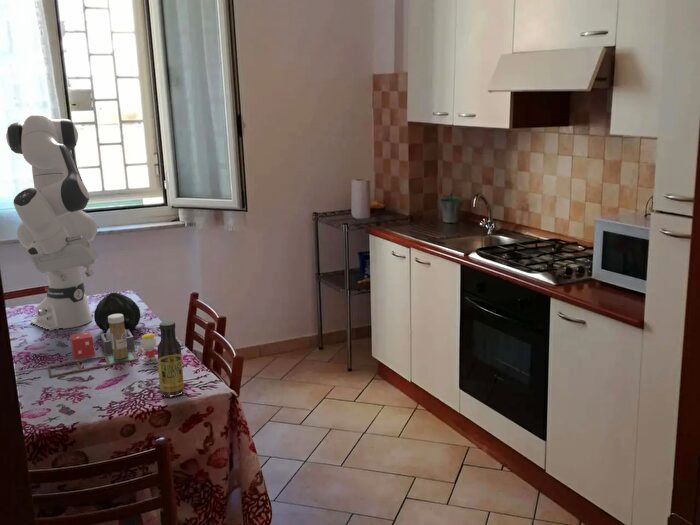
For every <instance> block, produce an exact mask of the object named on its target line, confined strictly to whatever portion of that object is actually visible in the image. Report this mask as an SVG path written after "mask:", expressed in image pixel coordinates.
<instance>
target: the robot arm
mask: <svg viewBox="0 0 700 525" xmlns="http://www.w3.org/2000/svg"><path fill="white" fill-rule="evenodd" d="M5 134H6V135H5V136H6V137H5V138H6V142H7V144H8V145H7V146H8V147H9V148H10V150H11V152H13V153H14V154H18V155H22V156H23V158H24V160H25V161H26V163H28V164H29V165H30V166H31V171H32V180H33V186H34V187H29V188H26V189H23V190H22V191H20V192H19V193H17V194H16V195H15V197H14V199H13V206H14V208H15V211H16V213H17V215H18V217H19V218H20V220H21V222H20V224H19V225H18V228H17V230H16V233H17V234H16V236H17V239H18V242H19V243H20V244H21V246H23V248H26V250H25V253H26V254H27V255H28V256H30V257H29V258H30V261H31V263H32V264H33V266H34V268H35V269H36V270H37V271H38V272H39V273H41V274H44V273H46V277H47V282H48V286H46V287H44V289H45V290H44V291H45V292H46V297H45V298H44V299H43V300H42V301H41V302H39V304H38V305H37V306H36V310H35V311H36V317H34V318H32V319H31V320H30V321H29V322H31V323H34V324H36V325H39V326H42V327H44V328H47V329H49V330H48V331H55V330H54V329H56V330H60V329H59V328H63V329H71V328H77V327H81V326H84V325H86V324H88V323H90V322H92V320H93V316H94V313H93V312H92V311H91V308H90V304H89V300H88V296H87V295H86V294H85V292H86V289H85V285H84V282H83V279H82V278H83V277H82V272H81V267H82V266H83V268H85V269H86V271H85V272H84V274H85V275H86V277H87V278H88V277H93V275H94V274H95V273H94V270H93V269H92V267H93V266H92V265H93V264H95V263H96V262H97V260H98V258H99V253H98V251H97V250H96V249H95V247H94V245H92V243H91V242H93V241H94V240H95V238H96V235H97V234H98V224H97V222H96V220H95V219H94V217H93V216H92V215H90V214H89V213H87V212H85V211H84V210H85V208H86V207H87V205H88V203H89V201H90V194H89V191H88V189H87V186H85V184H84V181H83V179H82V176H81V174H80V171H79V169H78V166H77V163H76V161H75V158H74V156H73V154H72V152H71V151H73V150H74V148H76V146H77V143H78V140H79V133H78V130H77V127H76V126H75V124H74V122H73V121H72V120H71V119H67V118H60V119H56V118H55V119H53V118H50V117H48V116H47V115H45V114H39V113H35V114H32V115H30V116H28V117H27V118H26V119H25V121H23V122H22V121H21V122H20V121H17V122H14V123H11V124H10V125H9V126H8V127H7V130H6V133H5ZM92 315H93V316H92ZM36 325H35V326H36ZM44 328H43V329H44ZM47 329H46V330H47Z"/></svg>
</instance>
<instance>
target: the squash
mask: <svg viewBox="0 0 700 525" xmlns="http://www.w3.org/2000/svg"><path fill="white" fill-rule="evenodd" d="M112 314H123V316H124V328H125V330H126V329H129V331H130V332H131V331H133V329H135V328H136V327H137V326H138V324H139V323H140V321H141V309H140V308H139V305H138V304H137V303H136V302H135V301H134V300H133V299H132V298H130V297H129V296H126V295H124V294H122V293H119V292H110V293H108V294H107V295H106V296H104V297H103V298H102V299H100V300H99V302H98V303H97V305H96V306H95V310H94V313H93V316H94V322H95V324H96V326H97V327H98V328H99V329H100V330H102V331H103V332H106V333H107V331H108V329H109V328H110V326H109V323H108V316H110V315H112Z"/></svg>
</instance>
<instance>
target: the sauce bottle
mask: <svg viewBox="0 0 700 525" xmlns="http://www.w3.org/2000/svg"><path fill="white" fill-rule="evenodd" d="M158 328H159V330H160V341H159V344H158V346H157V347H156V349H157V350H158V353H157V367H158V368H157V369H158V380H159V381H158V382H159V390H160V395H161V394H162V395H165V396H170V395H176V394H179V393H181V392H182V391H183V392H184V388H185V385H184V369H183V367H184V366H183V356H182V348H181V346H182V345H181V343H180V341H179V340H178V339H177V338H176V337H177V336H176V335H177V334H176V322H175V321H174V320H165V321H162V322H160V323H159V327H158ZM162 395H161V396H162Z"/></svg>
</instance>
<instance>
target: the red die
mask: <svg viewBox="0 0 700 525" xmlns="http://www.w3.org/2000/svg"><path fill="white" fill-rule="evenodd" d="M69 337H70V345H71V350H72V351H71V352H72V355H73V358H74V359H80V358H85V357H92V356H96V353H95V351H96V350H95V345H94V338H93V335H92V333H91V331H84V332H80V333H78V332H77V333H73V334H70V335H69Z"/></svg>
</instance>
